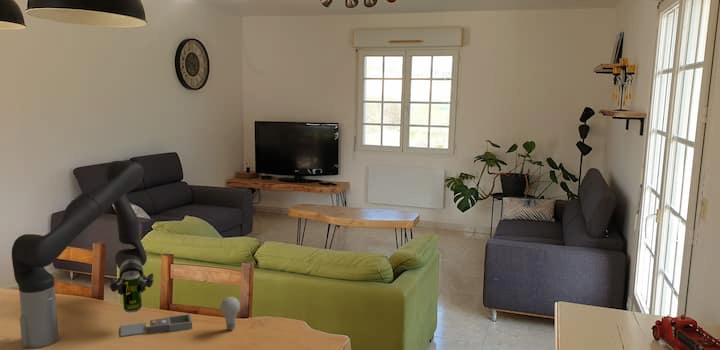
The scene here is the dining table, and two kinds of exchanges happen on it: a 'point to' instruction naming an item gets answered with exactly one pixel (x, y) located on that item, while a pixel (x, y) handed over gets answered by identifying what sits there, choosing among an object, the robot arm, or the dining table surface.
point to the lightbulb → (230, 311)
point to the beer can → (131, 291)
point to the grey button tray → (166, 325)
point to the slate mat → (133, 329)
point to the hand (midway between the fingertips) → (131, 290)
